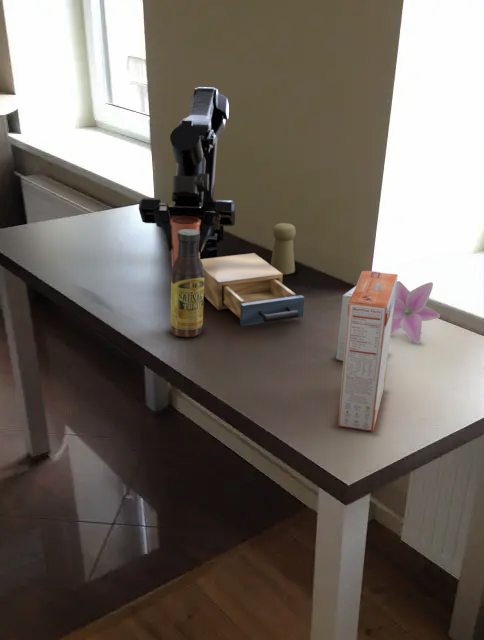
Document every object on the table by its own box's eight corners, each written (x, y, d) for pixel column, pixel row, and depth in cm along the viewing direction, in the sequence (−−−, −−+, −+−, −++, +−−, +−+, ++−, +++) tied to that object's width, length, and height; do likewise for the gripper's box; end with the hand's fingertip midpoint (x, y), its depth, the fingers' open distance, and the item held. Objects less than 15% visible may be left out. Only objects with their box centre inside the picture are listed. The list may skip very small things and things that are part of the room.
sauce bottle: (178, 341, 140) (176, 238, 130) (165, 329, 145) (162, 229, 135) (209, 335, 143) (210, 234, 133) (196, 323, 147) (195, 225, 138)
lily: (363, 327, 150) (365, 297, 142) (405, 296, 153) (409, 265, 145) (405, 363, 144) (410, 334, 136) (448, 330, 147) (455, 300, 139)
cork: (265, 271, 175) (267, 225, 169) (276, 264, 179) (278, 219, 174) (288, 276, 172) (291, 229, 167) (299, 268, 177) (302, 223, 172)
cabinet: (281, 301, 159) (282, 273, 156) (218, 310, 154) (218, 282, 151) (253, 278, 170) (254, 252, 167) (193, 286, 165) (193, 260, 162)
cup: (169, 270, 150) (168, 216, 145) (198, 268, 152) (198, 215, 146) (173, 280, 145) (172, 225, 140) (203, 279, 146) (203, 224, 141)
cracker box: (348, 386, 126) (361, 268, 116) (384, 391, 124) (400, 273, 114) (334, 427, 114) (347, 300, 104) (373, 433, 113) (390, 305, 102)
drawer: (312, 324, 146) (313, 304, 144) (250, 334, 141) (251, 313, 139) (274, 293, 160) (275, 274, 158) (216, 301, 155) (216, 282, 153)
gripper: (138, 155, 141) (130, 229, 137) (235, 158, 141) (231, 232, 136) (146, 186, 152) (139, 256, 148) (236, 189, 151) (232, 259, 147)
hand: (184, 250), depth 145 cm, fingers closed on cup, 5 cm apart
